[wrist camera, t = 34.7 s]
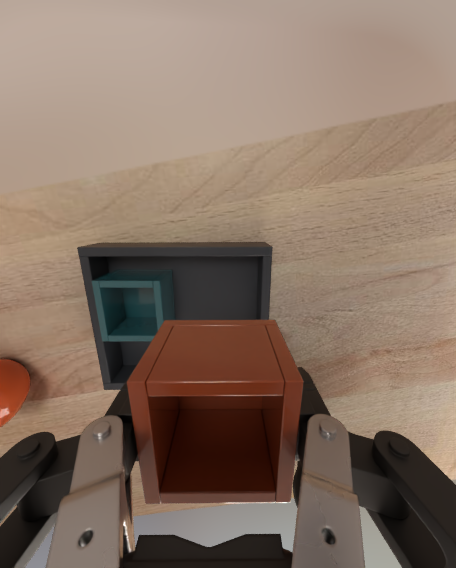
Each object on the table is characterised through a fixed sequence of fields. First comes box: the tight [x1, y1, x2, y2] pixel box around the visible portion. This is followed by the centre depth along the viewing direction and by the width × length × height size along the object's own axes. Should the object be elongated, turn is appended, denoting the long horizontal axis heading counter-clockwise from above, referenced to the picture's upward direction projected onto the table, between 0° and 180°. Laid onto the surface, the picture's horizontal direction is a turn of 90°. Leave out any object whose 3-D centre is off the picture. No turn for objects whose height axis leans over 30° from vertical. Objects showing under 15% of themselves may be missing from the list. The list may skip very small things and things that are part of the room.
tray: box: [77, 242, 272, 390], centre depth 23 cm, size 15×17×4 cm
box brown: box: [127, 320, 304, 504], centre depth 10 cm, size 6×6×4 cm
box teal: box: [92, 269, 176, 341], centre depth 21 cm, size 6×6×4 cm
